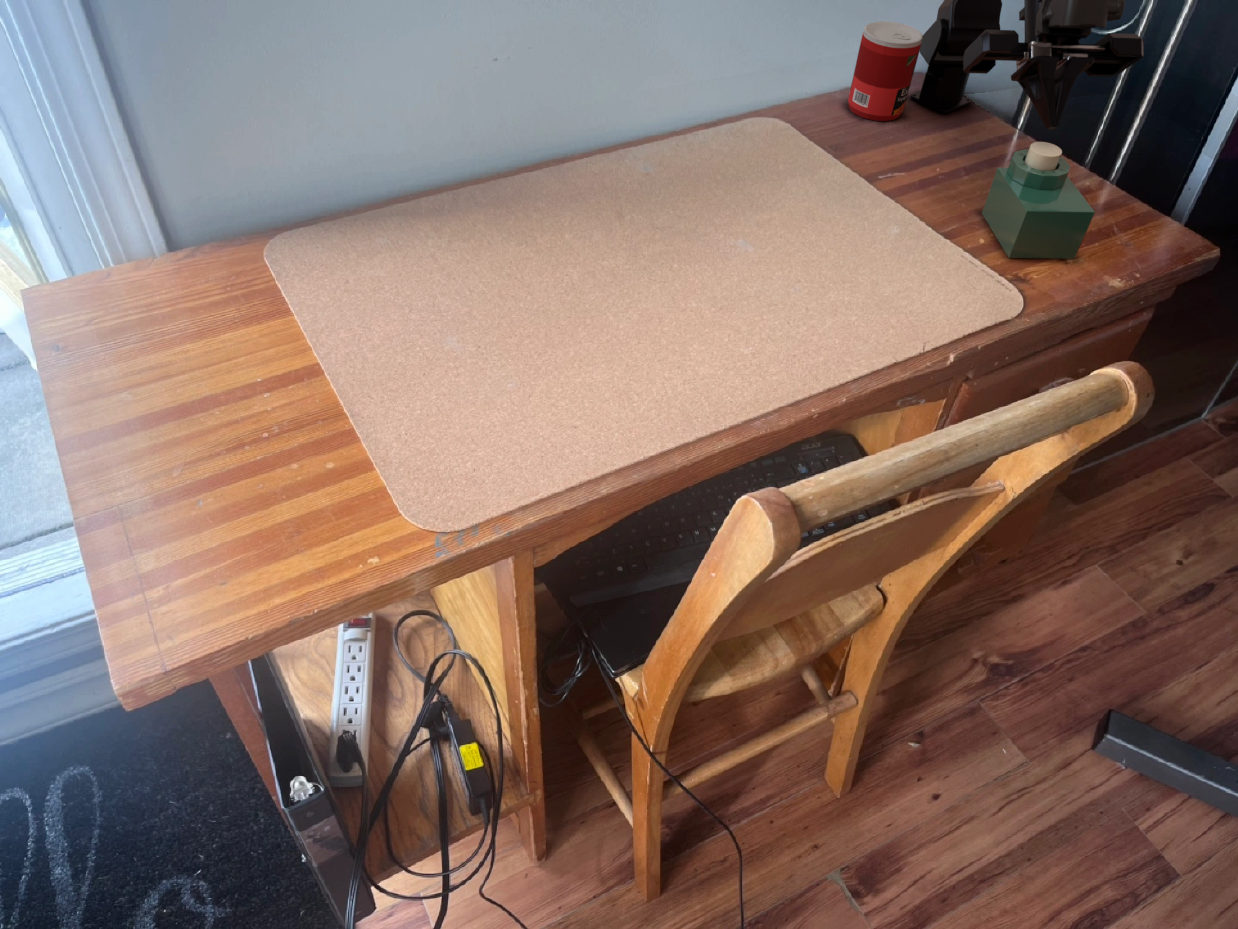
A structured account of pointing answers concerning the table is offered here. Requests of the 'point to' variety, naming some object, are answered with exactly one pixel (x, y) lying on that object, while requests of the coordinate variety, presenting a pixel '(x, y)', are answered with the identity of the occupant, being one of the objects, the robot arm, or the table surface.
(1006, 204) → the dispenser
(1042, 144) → the cream push button
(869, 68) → the canned food
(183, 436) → the table surface
